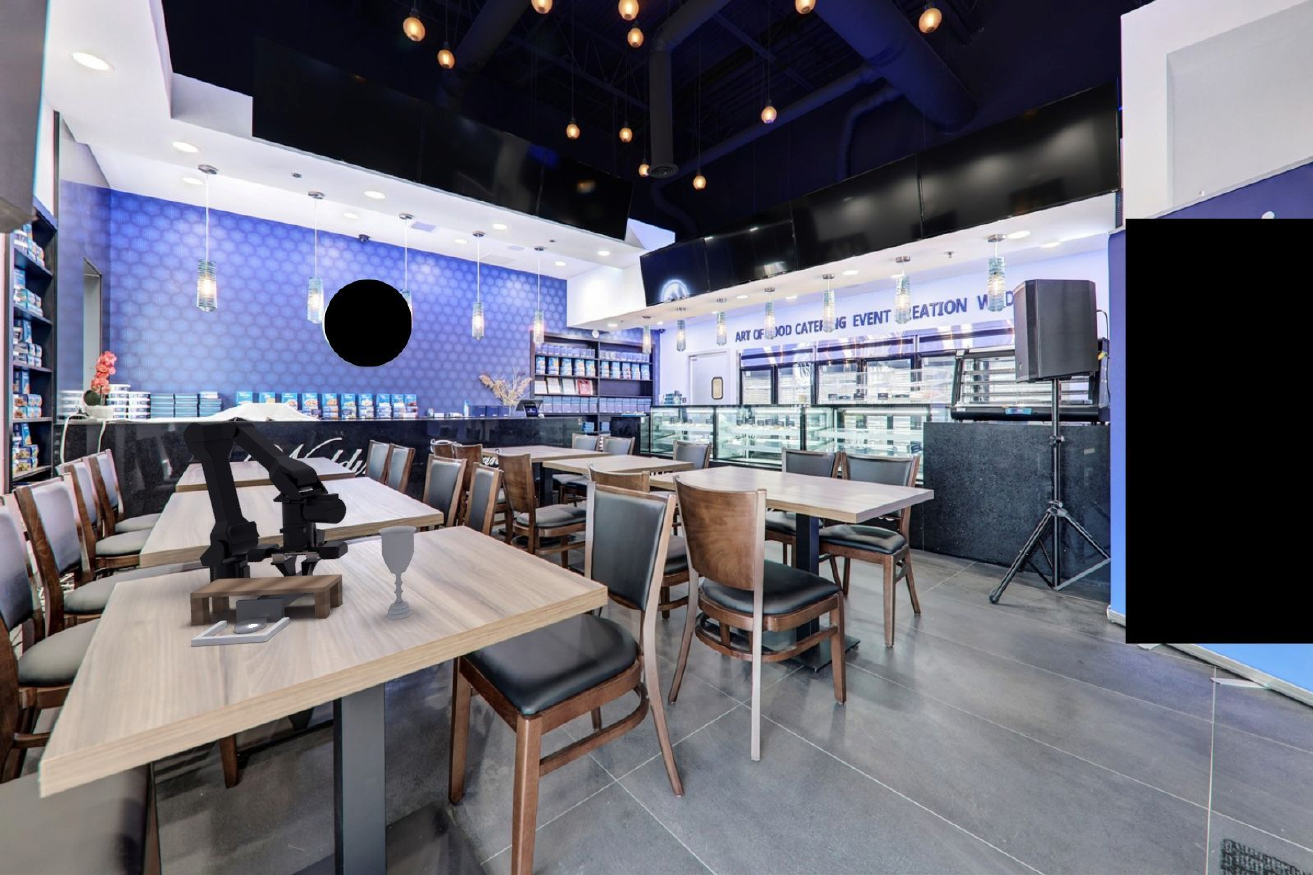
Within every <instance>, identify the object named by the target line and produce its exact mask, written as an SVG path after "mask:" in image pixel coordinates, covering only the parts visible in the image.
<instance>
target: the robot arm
mask: <svg viewBox="0 0 1313 875" xmlns="http://www.w3.org/2000/svg"><path fill="white" fill-rule="evenodd" d="M182 434H183V435H182V436H183V439H184V443H185V444H186V447H187V450H188V451H189V453H190V454H191V455H193V456H194V457H195V458H196V459H197V460H198V461H199V462H200V463H201V467H202V472H203V473H202V474H203V476H204V481H205V484H206V488H207V492H208V497H209V500H210V505H211V509H212V512H213V513H212V514H213V518H214V525H213V526H212V529H211V531H210V533H209V543H210V544H209V545H210V546H209V547H207V549H206V550H205V551H203V553H202V554H201V556H199V561H200V564H201V566H202V567H207V568H209V583H211V582H213V581H215V580H217V579H237V578H251V565H250V564H248V563H262V562H263V561H264V560H266V558H267V557H271V559H272V560H271V562H270V566H275V567H276V569H277V570H278V571H279V572H280V573H281V574H282V577H286V576H293V575H294V574H296V573H297V570H296V562H297V558H298V556H305V559H304V560H302V561H301V562H300V567H301V570H302V576H311V575H312V574H313V575H314V571H315V568H316V566H317V564H318V563H319V562H320V561H323V560H324V561H325V560H326V561H328V560H339V559H340V558H341V557H343V556H344V555H346V554H347V553H348V552H349V545H348V543H347V542H346V541H345V540H343V541H328V542H326V543H325V538H326V530H324V529H320V528H317V524H329V525H330V524H331V525H332V524H333V525H337V524H340V523H341V522H343V520H344V519H345V517H346V514H347V505H346V503H345V502H344V500H343V499H342V498H340V496H339V493H337V492H336V493H335V492H334V493H333V492H332V493H329V490H328V489H327V488H326V486H325V485H324V483H323V482H322V480H321V478H320V477H319V475H318V473H317V471H316V469H315V468H314V467H312V466H310V465H309V464H308V463H305V462H304V461H301V460H299V459H296V458H292V457H291V456H288V455H287V454H286V453H285V452H284V451H282V449H280V448H279V447H278V446H277V445H276V444H274V442H272V441H271V440H269V439H268V437H266V436H265V435H264V434H263V433H261V432H260V431H259V430H258V428H256V426H255V424H254V423H253V422H250V421H248V420H238V421H236V420H233V421H227V422H223V421H213V422H211V421H210V422H209V421H205V422H191V423H189V424H188V425H187V426H186V428H185V429H184V430H183V433H182ZM235 444H236V445H238V446H239V447H240V448H241V449H242V450H243V451H245V453H247V454H248V455H249V456H250V457H252V459H253V460H255V462H257V463H258V464H259V465H260V466H262V467H263V468H264V469H265V471H267V472H268V479H269V481H270V482H271V483H272V485H273V486H274V487H275V489H277V491H278V492H280V493H279V494H278V495H277V496H276V497H274V498H273V499H272V501H273V502H274V503H281V519H282V520H281V521H282V527H281V528H279V534H281V535H282V546H280V545H279V544H278V542H277V543H275V542H274V543H272V542H271V543H260V544H259V540H260V539H259V538H260V537H261V535H260V534H259V531H258V528H257V526H258V525H257V523H256V521H255V520H253V521H252V520H251V521H249V520H248V519H247V518H246V517H244V515H243V513H242V508H241V503H240V500H239V496H238V491H237V487H236V482H235V478H234V474H233V470H232V467H231V462H230V455H231V453H232V450H233V448H234V446H235ZM319 544H320V546H316V545H319ZM321 544H322V545H321ZM301 570H300V571H301Z"/></svg>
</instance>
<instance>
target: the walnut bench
mask: <svg viewBox="0 0 1313 875" xmlns="http://www.w3.org/2000/svg"><path fill="white" fill-rule="evenodd" d="M293 593H304V594H308V593H314V595H313V596H314V618H315V619H317V620H320V619H327V618H328V617H329V616H330V615H331V608H339V607H341V605H342V604H343V603H344V601H343V594H344V593H343V574H342V573H341V574H340V573H339V574H337V573H336V574H335V573H334V574H315V575H314V574H313V575H311V576H286V577H284V576H267V577H266V576H265V577H263V576H262V577H250V578H237V579H217V580H215V581H213V582H211V583H210V582H209V583H207V584H205V585H204V586H202V587H200V588H197V589H195V590H194V591H192V592H190V593H189V600H190V601H189V602H190V618H191V619H190V620H191V621H190V624H191V626H192V627H193V626H204V625H205V624H207V623H209V622H210V621H211V614H220V613H221V614H223V613H225V612H226V611H228V610H230V609H231V608H230V597H245V596H246V597H247V596H261V595H271V594H293ZM210 598H211V607H210ZM210 609H211V610H210ZM211 612H212V613H211Z"/></svg>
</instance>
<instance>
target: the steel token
mask: <svg viewBox="0 0 1313 875" xmlns="http://www.w3.org/2000/svg"><path fill="white" fill-rule="evenodd" d="M266 627H268V622H267V619H266V618H252V619H247V620H244V621H241V622H239V623H237V622H236V623H235V624H234V625H233V631H234V633H233V634H235V635H243V634H254V633H256V632H260V631H261V630H263V629H265V628H266Z"/></svg>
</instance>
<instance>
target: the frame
mask: <svg viewBox="0 0 1313 875" xmlns="http://www.w3.org/2000/svg"><path fill="white" fill-rule="evenodd" d="M289 624H290V617H288V616H287V617H286V616H285V617H284V618H282V619H281V620H280V621H278V622H275V623H274V624H273V625H272V626H270V627H269V628H267V630H265V631H264V632H262V633H248V634H230V635H229V634H228V635H216V634H218V633H220V632H221V631H223V630H225V628H227V627H228V622H227V620H220V621H219V622H217V623H215V624H214V625H212V626H210V627H209V628H207V629H205V630H204V631H203V632H201V633H200V634H198V635H197V636H195V637H193V638H192V639H191V640H190V642H191V643H190V645H191V647H200V646H202V647H203V646H216V645H217V646H219V645H232V644H234V645H236V644H237V645H238V644H249V643H266V642H268V641H269V640H270V639H271V638H272V637H274V636H275V635H277V634H278V633H279V632H280V631H282V630H283V629H284V628H285V627H286V626H288V625H289Z"/></svg>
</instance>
